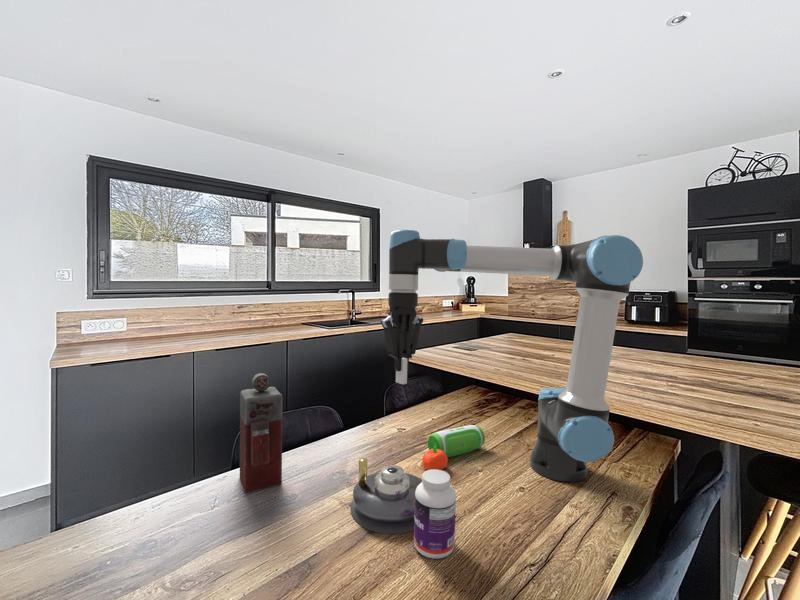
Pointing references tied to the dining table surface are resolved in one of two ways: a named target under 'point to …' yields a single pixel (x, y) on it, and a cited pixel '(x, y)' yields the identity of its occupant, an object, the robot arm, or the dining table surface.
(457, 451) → the speaker
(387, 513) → the turntable
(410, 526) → the turntable base
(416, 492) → the pill bottle
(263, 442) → the vintage gas pump
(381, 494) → the cover
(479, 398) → the dining table surface
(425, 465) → the pumpkin
